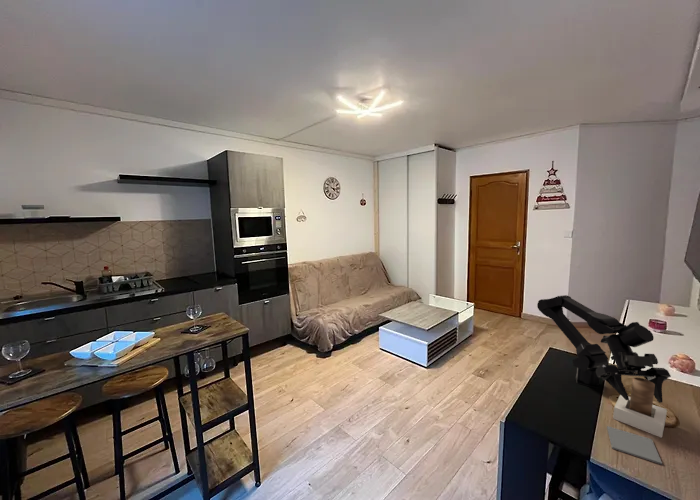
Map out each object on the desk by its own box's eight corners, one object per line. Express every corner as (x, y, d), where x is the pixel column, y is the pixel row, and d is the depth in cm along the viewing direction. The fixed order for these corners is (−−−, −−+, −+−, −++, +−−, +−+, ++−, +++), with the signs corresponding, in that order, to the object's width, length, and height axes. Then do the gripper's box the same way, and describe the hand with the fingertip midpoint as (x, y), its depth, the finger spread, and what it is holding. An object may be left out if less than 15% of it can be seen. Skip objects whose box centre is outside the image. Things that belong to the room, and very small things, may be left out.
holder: (612, 418, 97) (614, 407, 96) (619, 404, 104) (620, 393, 103) (661, 437, 88) (663, 425, 88) (665, 421, 95) (667, 409, 95)
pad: (612, 448, 85) (612, 446, 84) (606, 427, 93) (607, 425, 93) (661, 464, 79) (662, 463, 79) (651, 440, 87) (651, 439, 87)
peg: (630, 421, 95) (634, 383, 94) (626, 412, 99) (631, 375, 98) (651, 427, 93) (657, 388, 91) (647, 418, 97) (652, 380, 95)
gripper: (604, 341, 99) (626, 392, 89) (669, 344, 96) (699, 397, 86) (587, 353, 108) (605, 400, 98) (646, 356, 105) (671, 405, 95)
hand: (644, 401), depth 94 cm, fingers open, 9 cm apart
